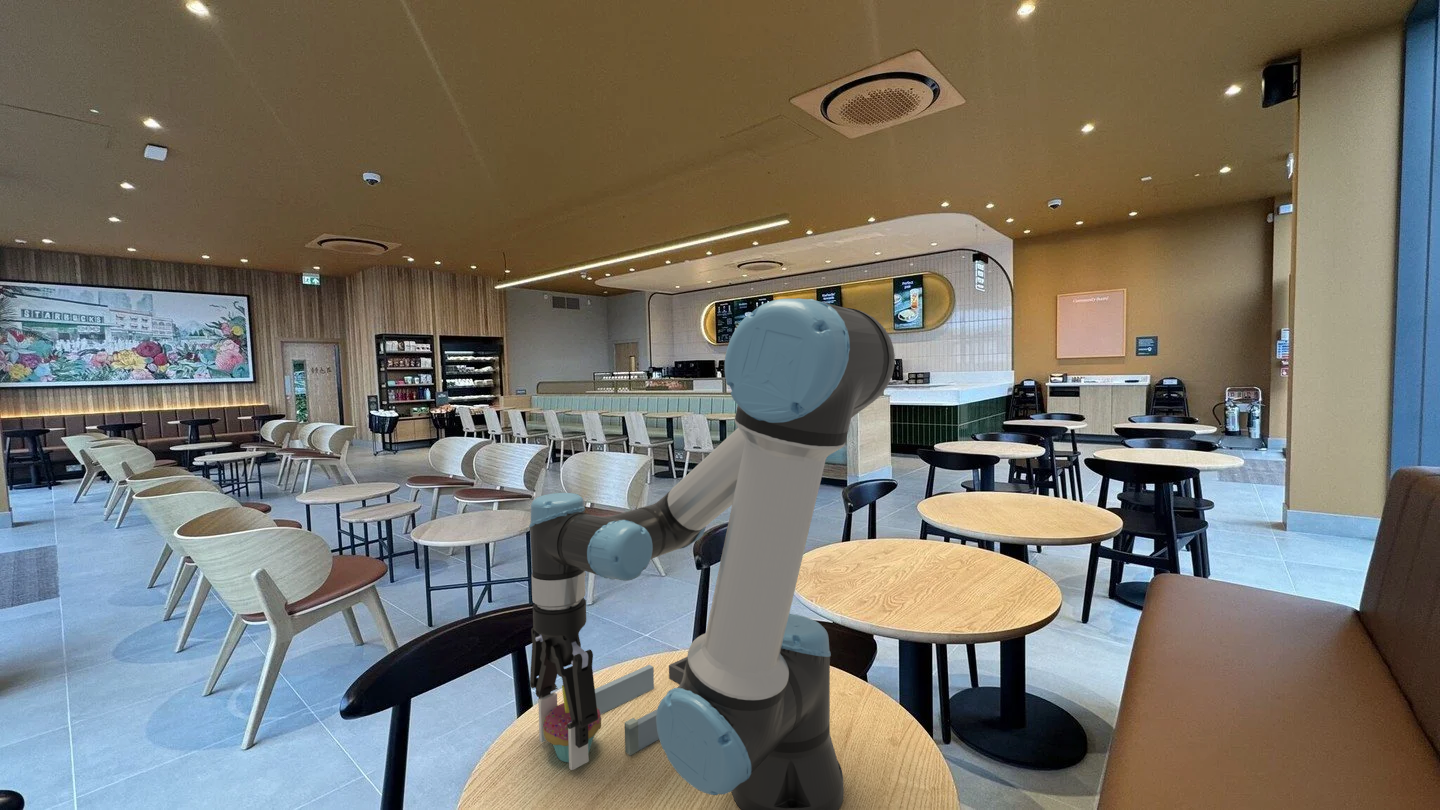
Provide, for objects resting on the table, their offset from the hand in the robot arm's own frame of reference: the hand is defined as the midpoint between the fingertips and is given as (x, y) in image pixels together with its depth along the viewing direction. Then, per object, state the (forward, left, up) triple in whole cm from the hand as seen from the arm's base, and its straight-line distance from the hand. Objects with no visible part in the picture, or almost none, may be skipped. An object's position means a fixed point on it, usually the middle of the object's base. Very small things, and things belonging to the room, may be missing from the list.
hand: (563, 750), depth 86 cm
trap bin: (0, -29, -1) cm, 29 cm away
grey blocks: (0, -14, -1) cm, 14 cm away
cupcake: (0, -2, -1) cm, 2 cm away
